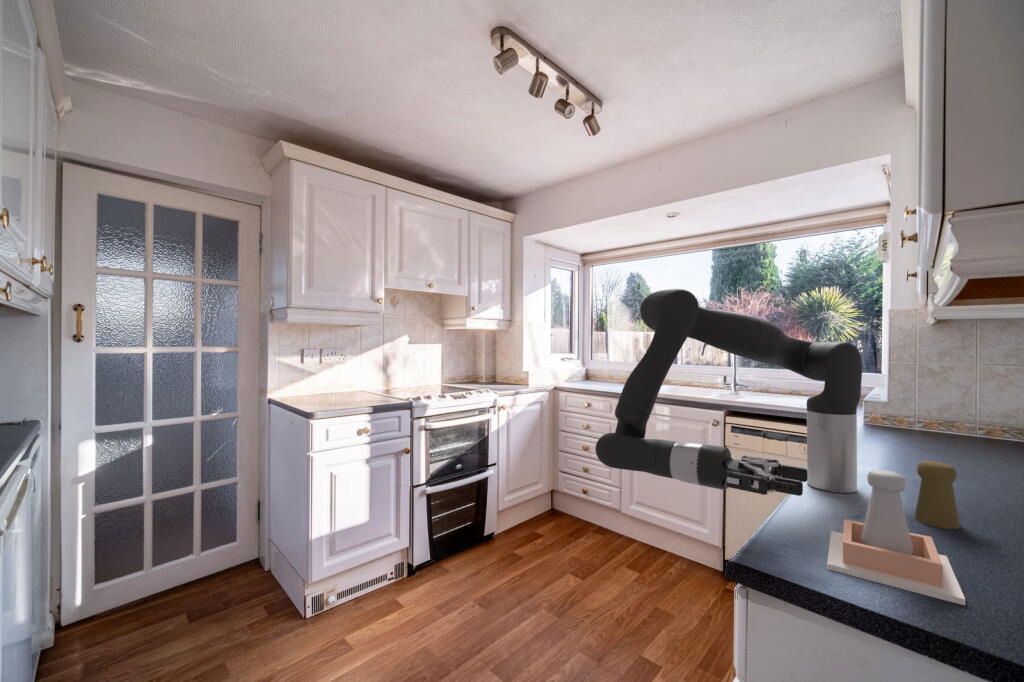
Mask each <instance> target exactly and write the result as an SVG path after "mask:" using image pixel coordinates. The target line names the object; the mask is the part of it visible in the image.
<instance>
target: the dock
mask: <svg viewBox="0 0 1024 682" xmlns="http://www.w3.org/2000/svg"><path fill="white" fill-rule="evenodd" d="M863 527H864V523H863V522H859V521H854V520H849V519H843V530H842V531H843V532H837V531H833V530H830V537H829V546H828V552H827V553H828V554H827V560H826V569H827V570H829V571H833V572H836V573H841V574H845V575H848V576H852V577H856V578H860V579H863V580H867V581H870V582H873V583H874V582H875V583H878V584H883V585H886V586H890V587H894V588H897V589H901V590H905V591H909V592H912V593H917V594H920V595H924V596H928V597H930V598H935V599H939V600H943V601H947V602H951V603H954V604H958V605H962V606H966V598H965V595H964V593H963V591H962V588H961V586H960V584H959V582H958V579H957V577H956V575H955V573H954V572H955V571H954V570H953V568H952V565H951V563H950V561H949V558H948V556H947V555H944V554H939V553H938V551H937V550H938V549H937V547H936V545H935V543H934V539H933V537H932V536H929V535H925V534H924V535H923V534H920V533H919V534H918V533H914V532H909V533H910V537H911V541H912V545H913V553H912V554H911V555H909V554H904V553H900V552H895V551H891V550H887V549H882V548H878V547H873V546H869V545H865V544H863V542H862V539H861V535H862V531H863Z"/></svg>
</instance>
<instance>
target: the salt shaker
mask: <svg viewBox="0 0 1024 682" xmlns="http://www.w3.org/2000/svg"><path fill="white" fill-rule="evenodd" d="M866 478H867V483H868V485H869V486H871V487H872V488H871V489H872V490H871V493H870V497H869V502H868V505H867V509H866V515H865V519H864V527H863V531H862V535H861V539H862V542H863V544H865V545H869V546H873V547H878V548H882V549H887V550H891V551H895V552H900V553H904V554H909V555H911V554H912V553H913V545H912V541H911V537H910V533H911V532H910V530H909V526H908V525H909V524H908V523H907V522H908V521H907V518H906V513H905V509H904V505H903V502H902V497H901V493H900V492H904V491H905V490H906V488H907V482H906V478H905V477H904V476H903V475H902V474H900V473H897V472H895V471H891V470H886V469H873V470H871V471H869V472H868V473H867V477H866Z"/></svg>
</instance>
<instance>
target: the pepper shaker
mask: <svg viewBox="0 0 1024 682" xmlns="http://www.w3.org/2000/svg"><path fill="white" fill-rule="evenodd" d="M916 469H917V470H916V471H917V474H918V476H919V477H920V478H921V480H920V485H919V489H918V490H919V491H918V496H917V500H916V501H917V503H916V508H915V513H914V520H915V521H917V522H918V523H919V522H920V523H921V524H924V525H927V526H930V527H935V528H940V529H945V530H946V529H947V530H959V529H961V524H960V518H959V514H958V512H959V511H958V507H957V506H958V505H957V501H956V498H955V497H956V495H955V490H954V485H953V483H954V482H956V481H957V480H956V479H957V477H958V476H957V474H958V473H957V471H956V469H955V467H954V466H952V465H950V464H948V463H945V462H941V461H934V460H924V461H923V460H922V461H920V462H919V463H918V465H917V468H916Z"/></svg>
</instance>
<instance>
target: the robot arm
mask: <svg viewBox="0 0 1024 682" xmlns="http://www.w3.org/2000/svg"><path fill="white" fill-rule="evenodd" d="M699 304H700V303H699V302H698V299H697V297H696V296H695V294H693V292H691V291H690V290H687V289H684V288H671V289H663V290H662V289H661V290H658V291H654V292H652V293H651V294H649V295H646V297H645V298H644V299H643V301H642V302H641V304H640V308H639V313H640V314H639V315H640V317H641V319H642V322H643V323H644V324H645V325H646V326H647V328H649V329H651V331H654V332H653V333H654V334H653V335H652V336H653V337H652V339H651V342H650V344H649V345H648V348H647V349H646V351H645V353H644V355H643V356H642V358H641V359H640V361H639V362H638V363H637V364H636V366H635V367H634V369H633V370H632V371H631V372H630V374H629V375H628V378H627V380H626V381H625V383H624V385H623V387H622V390H621V393H620V395H619V399H618V400H617V401H618V402H617V403H616V406H615V411H614V416H615V418H616V419H617V424H616V428H615V432H608V433H605V434H603V435H601V436H600V437H599V439H598V440H597V441H596V444H595V454H596V457H597V458H598V460H599V462H601V464H602V465H604V466H607V467H608V468H611V469H612V468H613V469H617V470H618V469H619V470H624V471H625V470H626V471H632V472H633V471H634V472H642V473H647V474H650V475H653V476H658V477H663V478H668V479H674V480H678V481H681V482H683V483H687V484H692V485H698V486H700V487H701V486H702V487H708V488H713V489H716V490H723V491H725V490H727V489H728V488H730V489H734V490H735V489H736V490H740V491H745V492H750V493H754V494H759V495H763V496H765V495H766V496H767V495H768V493H769V494H770V493H771V494H772V493H774V492H777V493H783V494H788V495H792V496H793V495H794V496H798V497H801V496H802V495H803V493H804V483H806V482H807V483H806V484H807V485H808V486H810V487H813V488H815V489H818V490H822V491H826V492H830V493H831V492H832V493H840V494H841V493H842V494H852V493H856V492H857V491H858V427H857V426H858V423H857V422H858V420H857V417H858V416H857V411H858V409H857V408H858V406H859V403H860V399H861V395H862V382H863V381H862V378H863V359H862V355H861V352H860V350H859V349H858V347H857V346H855V345H854V344H853V343H850V342H847V341H808V340H803V339H800V338H794V337H791V336H789V335H787V334H785V332H784V331H783V330H782V329H781V327H779V326H777V325H776V324H774V323H772V322H770V321H769V320H768V321H767V320H765V319H762V318H759V317H756V316H753V315H750V314H746V313H740V312H737V311H736V312H735V311H727V310H721V309H715V308H714V309H712V308H707V307H702V306H700V305H699ZM688 338H690V339H692V340H696V341H699V342H701V343H704V344H705V345H708V346H711V347H713V348H716V349H719V350H721V351H724V352H726V353H729V354H733V355H735V356H738V357H741V358H745V359H748V360H753V361H756V362H760V363H765V364H768V365H773V366H774V365H775V366H777V367H780V368H784V369H787V370H788V371H790V372H793V373H795V374H798V375H801V376H802V377H804V378H807V379H809V380H813V381H817V382H824V387H823V390H822V392H821V393H819V394H817V395H814V396H810V397H807V400H806V468H804V467H798V466H792V465H785V464H782V463H781V462H780V461H779V460H777V459H773V458H772V459H770V458H763V457H756V456H755V457H754V456H748V455H742V456H741V458H740V459H733V458H732V453H731V450H730V449H729V448H728V447H726V446H719V445H711V444H707V443H706V444H705V443H704V444H703V443H697V442H691V441H684V442H683V441H681V442H680V441H674V440H673V441H672V440H665V439H656V438H655V439H654V438H645V437H646V431H647V424H648V422H649V419H650V417H651V414H652V411H653V409H654V406H655V403H656V400H657V397H658V395H659V393H660V390H661V388H662V385H663V383H664V381H665V379H666V377H667V375H668V374H669V371H670V369H671V367H672V365H673V364H674V361H675V360H676V358H677V356H678V355H679V353H680V350H681V349H682V347H683V346H684V344H685V342H686V341H687V339H688Z"/></svg>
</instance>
